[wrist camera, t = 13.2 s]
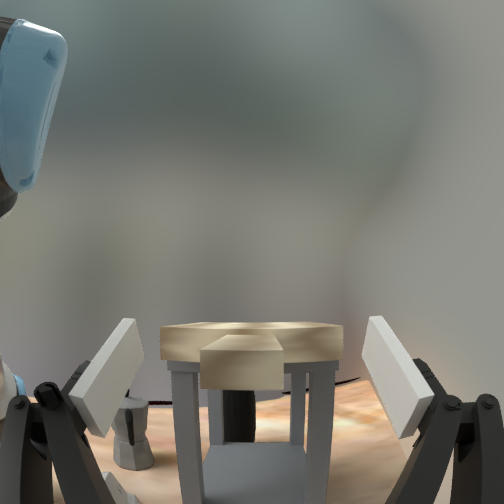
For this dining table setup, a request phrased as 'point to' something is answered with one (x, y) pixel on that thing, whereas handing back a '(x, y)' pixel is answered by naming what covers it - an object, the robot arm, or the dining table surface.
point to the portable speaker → (239, 416)
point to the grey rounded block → (118, 490)
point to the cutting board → (249, 350)
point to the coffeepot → (132, 434)
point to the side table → (255, 454)
